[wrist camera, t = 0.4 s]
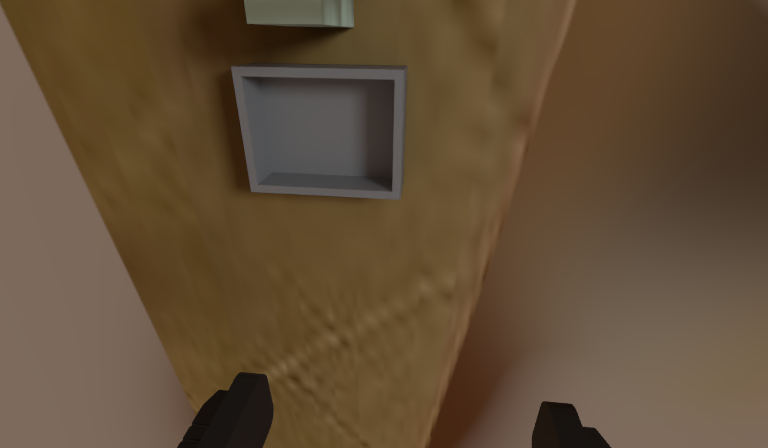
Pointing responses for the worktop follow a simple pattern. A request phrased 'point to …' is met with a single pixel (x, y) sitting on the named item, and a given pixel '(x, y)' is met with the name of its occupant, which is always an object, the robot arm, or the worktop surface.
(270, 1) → the sage block
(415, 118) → the worktop surface
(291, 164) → the bin
